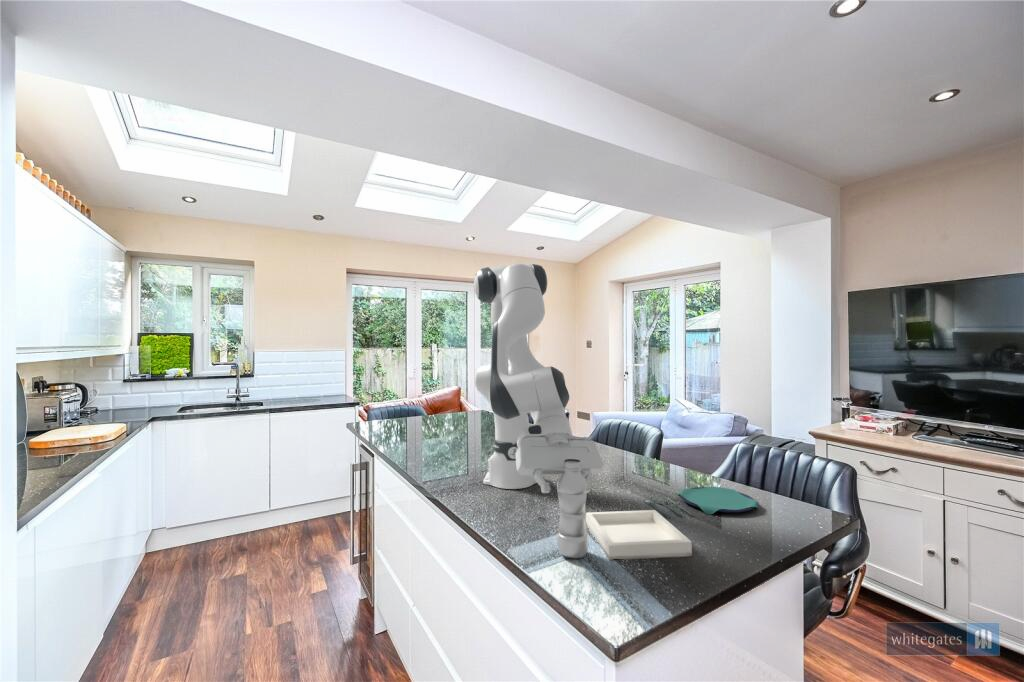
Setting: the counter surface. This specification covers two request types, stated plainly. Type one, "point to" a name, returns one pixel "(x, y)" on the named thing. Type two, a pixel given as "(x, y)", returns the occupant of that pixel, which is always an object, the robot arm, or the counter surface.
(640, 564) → the counter surface
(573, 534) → the plastic bottle
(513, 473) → the robot arm
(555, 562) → the counter surface
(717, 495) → the cutlery set
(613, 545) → the ceramic dish
